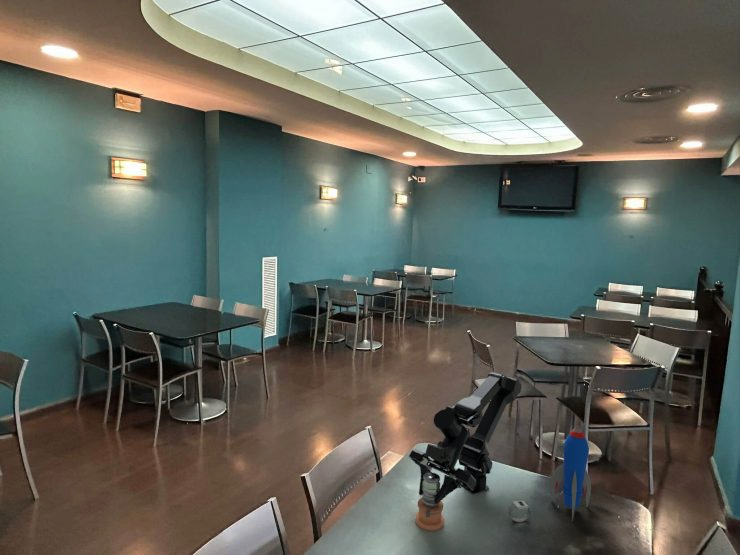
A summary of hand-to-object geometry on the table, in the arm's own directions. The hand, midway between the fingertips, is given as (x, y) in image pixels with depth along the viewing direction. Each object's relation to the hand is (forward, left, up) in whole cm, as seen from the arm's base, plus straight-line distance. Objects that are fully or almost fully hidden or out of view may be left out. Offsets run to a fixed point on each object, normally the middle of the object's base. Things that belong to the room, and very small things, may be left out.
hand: (427, 499), depth 119 cm
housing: (0, +1, -7) cm, 7 cm away
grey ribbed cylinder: (0, +1, -2) cm, 3 cm away
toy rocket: (+14, +39, -7) cm, 42 cm away
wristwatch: (+10, +23, -7) cm, 26 cm away
